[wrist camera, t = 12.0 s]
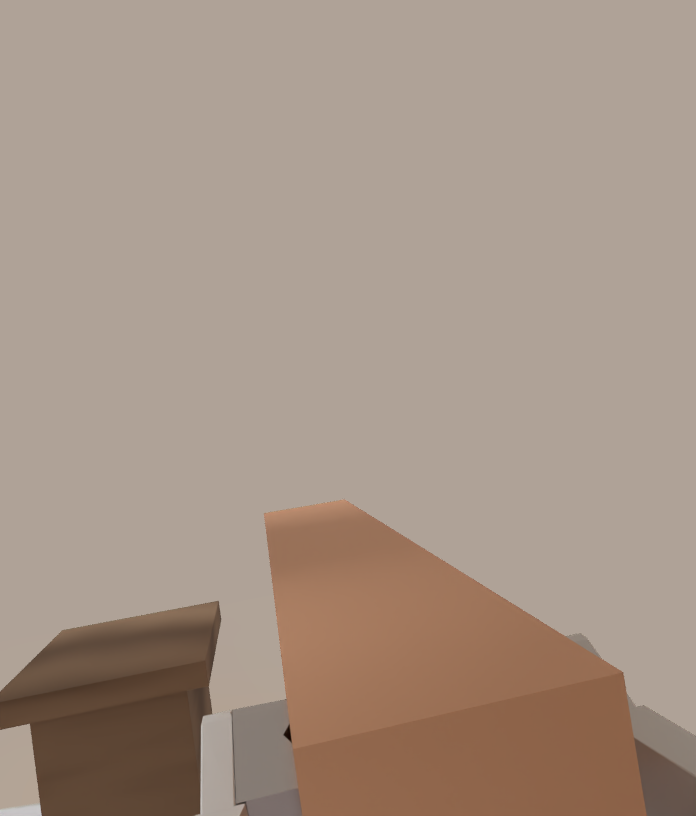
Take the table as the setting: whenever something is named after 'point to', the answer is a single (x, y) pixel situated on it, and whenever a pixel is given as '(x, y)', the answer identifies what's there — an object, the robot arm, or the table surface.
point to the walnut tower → (119, 714)
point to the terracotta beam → (434, 685)
